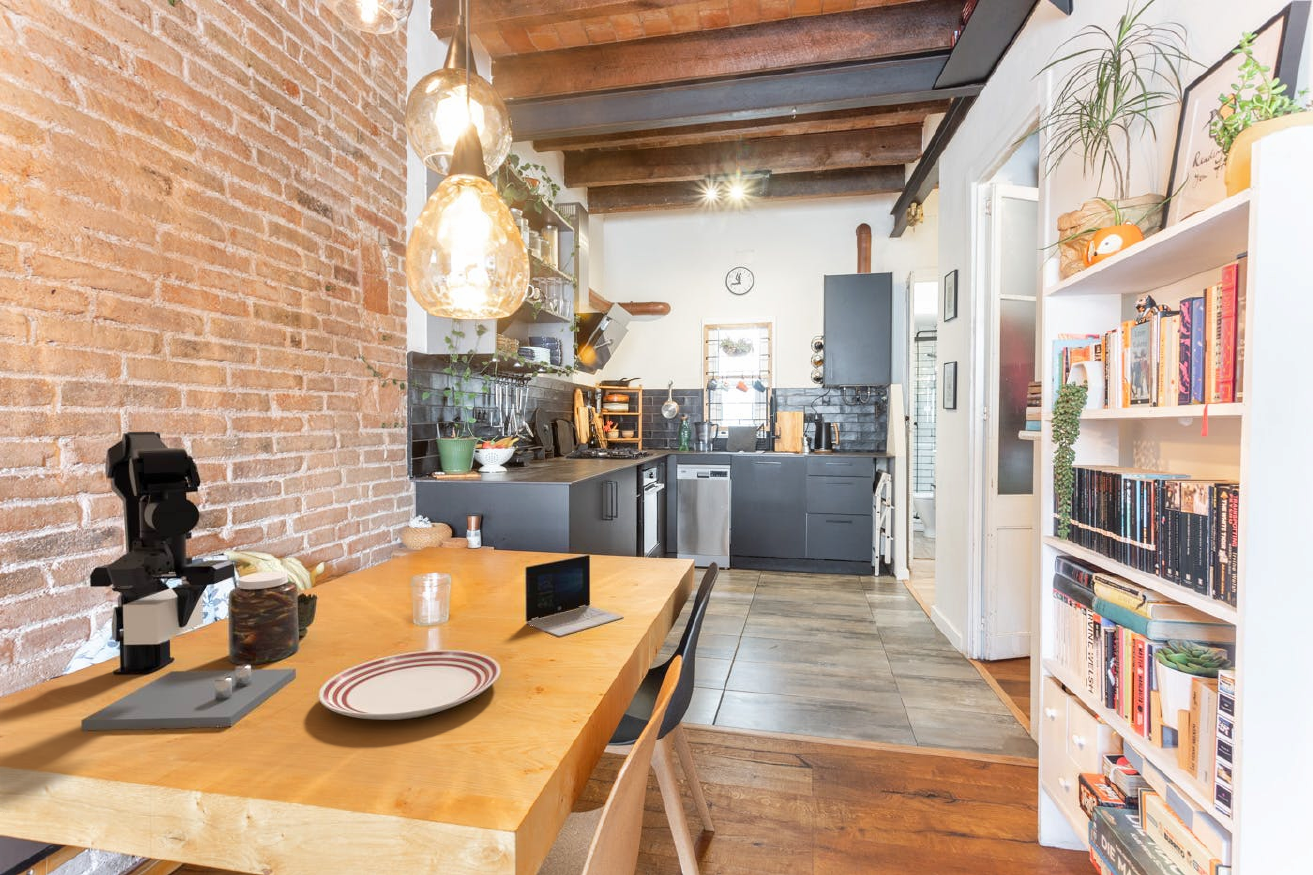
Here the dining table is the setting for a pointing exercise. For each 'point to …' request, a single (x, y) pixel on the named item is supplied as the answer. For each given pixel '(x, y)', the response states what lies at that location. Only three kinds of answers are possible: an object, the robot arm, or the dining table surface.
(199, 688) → the board
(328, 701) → the dinner plate
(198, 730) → the dining table surface
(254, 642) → the jar
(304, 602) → the cup
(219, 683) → the stubs
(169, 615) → the housing
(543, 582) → the laptop
